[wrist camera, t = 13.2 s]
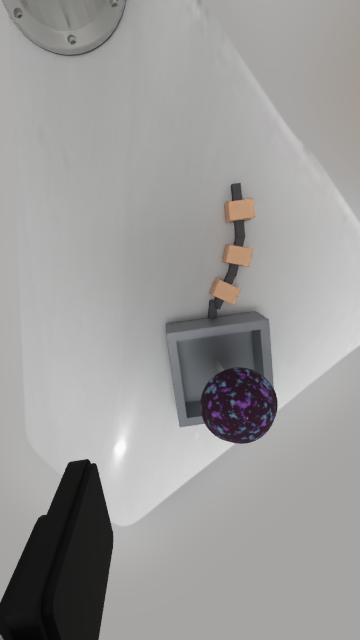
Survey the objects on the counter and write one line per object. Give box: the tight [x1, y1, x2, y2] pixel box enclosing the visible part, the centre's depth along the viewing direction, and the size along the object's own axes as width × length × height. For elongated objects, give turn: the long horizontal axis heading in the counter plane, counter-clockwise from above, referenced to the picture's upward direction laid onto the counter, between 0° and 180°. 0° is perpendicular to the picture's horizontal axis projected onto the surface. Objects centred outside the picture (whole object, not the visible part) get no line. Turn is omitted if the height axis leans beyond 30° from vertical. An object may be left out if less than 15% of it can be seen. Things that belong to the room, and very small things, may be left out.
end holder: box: [166, 312, 274, 427], centre depth 38 cm, size 12×12×5 cm
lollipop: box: [200, 359, 277, 444], centre depth 32 cm, size 7×7×15 cm
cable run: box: [208, 183, 255, 319], centre depth 36 cm, size 16×4×2 cm, turn 172°
